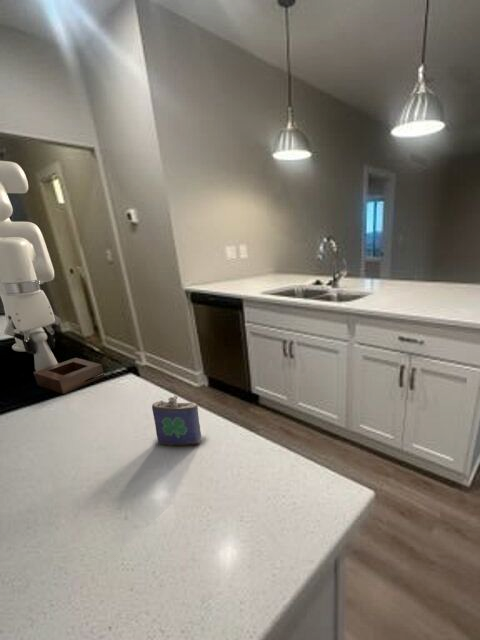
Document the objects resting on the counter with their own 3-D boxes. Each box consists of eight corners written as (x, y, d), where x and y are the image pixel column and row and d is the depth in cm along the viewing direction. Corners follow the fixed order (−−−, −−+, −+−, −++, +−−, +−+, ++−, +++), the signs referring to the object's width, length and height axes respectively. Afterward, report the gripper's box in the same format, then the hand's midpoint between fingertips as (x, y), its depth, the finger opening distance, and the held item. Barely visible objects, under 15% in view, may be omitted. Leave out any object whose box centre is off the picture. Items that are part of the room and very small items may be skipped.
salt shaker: (48, 378, 100) (35, 336, 95) (32, 377, 101) (18, 335, 96) (65, 370, 105) (53, 330, 100) (49, 369, 106) (37, 328, 101)
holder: (37, 385, 96) (33, 372, 95) (79, 369, 106) (75, 357, 105) (63, 394, 91) (59, 380, 90) (104, 376, 101) (101, 364, 100)
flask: (203, 438, 73) (197, 394, 69) (199, 447, 70) (192, 401, 66) (161, 437, 73) (152, 393, 69) (155, 445, 71) (145, 400, 67)
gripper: (46, 281, 102) (63, 339, 109) (-23, 292, 88) (1, 358, 95) (62, 283, 99) (78, 343, 106) (-8, 294, 85) (16, 362, 92)
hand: (41, 349), depth 100 cm, fingers open, 4 cm apart
